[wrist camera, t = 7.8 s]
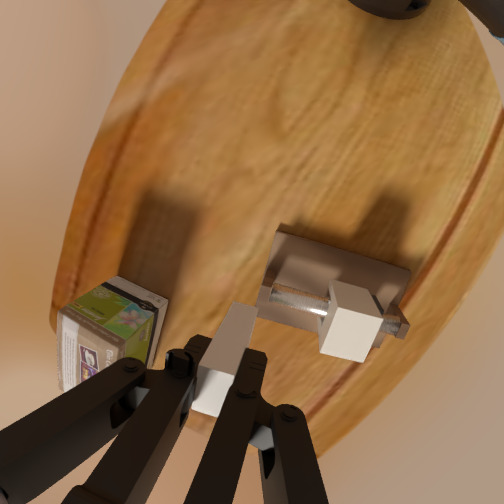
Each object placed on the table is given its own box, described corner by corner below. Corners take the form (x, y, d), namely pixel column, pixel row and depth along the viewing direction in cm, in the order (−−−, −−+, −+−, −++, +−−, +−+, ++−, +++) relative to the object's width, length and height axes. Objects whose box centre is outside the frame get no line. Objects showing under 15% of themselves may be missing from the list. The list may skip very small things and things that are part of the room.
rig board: (276, 230, 40) (271, 241, 33) (409, 269, 39) (427, 287, 32) (253, 312, 44) (244, 336, 37) (377, 344, 42) (388, 372, 35)
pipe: (275, 277, 37) (273, 285, 34) (397, 310, 36) (403, 320, 33) (269, 298, 38) (266, 308, 35) (388, 330, 36) (393, 341, 34)
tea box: (115, 272, 46) (54, 308, 32) (170, 299, 45) (121, 348, 31) (104, 345, 50) (56, 390, 36) (152, 370, 49) (112, 425, 35)
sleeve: (330, 278, 37) (338, 307, 29) (367, 289, 37) (383, 319, 29) (316, 317, 39) (319, 352, 31) (352, 326, 38) (363, 362, 30)
